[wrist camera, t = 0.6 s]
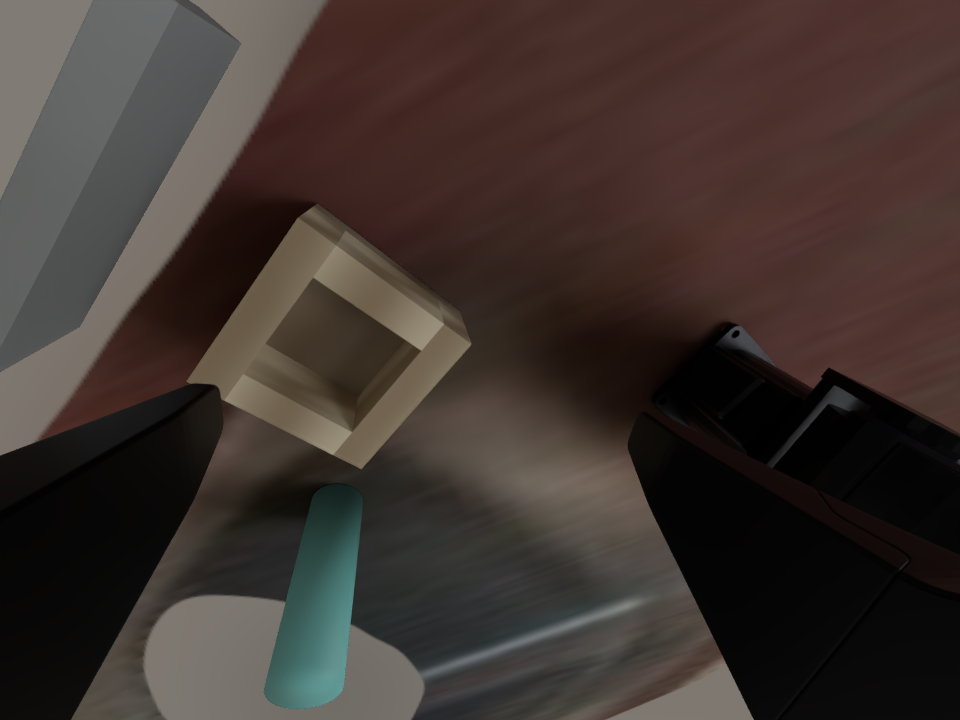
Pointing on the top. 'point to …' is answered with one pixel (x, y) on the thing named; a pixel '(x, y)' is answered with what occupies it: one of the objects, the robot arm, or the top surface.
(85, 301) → the wall
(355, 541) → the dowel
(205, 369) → the sliding block
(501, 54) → the top surface
